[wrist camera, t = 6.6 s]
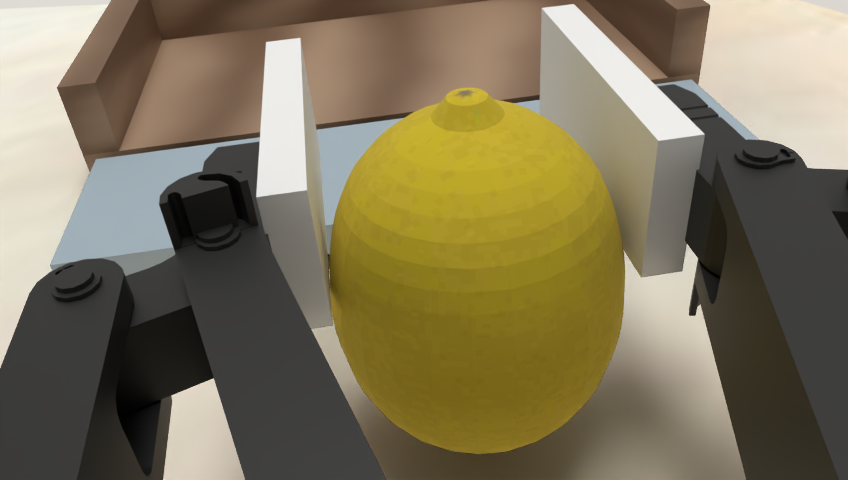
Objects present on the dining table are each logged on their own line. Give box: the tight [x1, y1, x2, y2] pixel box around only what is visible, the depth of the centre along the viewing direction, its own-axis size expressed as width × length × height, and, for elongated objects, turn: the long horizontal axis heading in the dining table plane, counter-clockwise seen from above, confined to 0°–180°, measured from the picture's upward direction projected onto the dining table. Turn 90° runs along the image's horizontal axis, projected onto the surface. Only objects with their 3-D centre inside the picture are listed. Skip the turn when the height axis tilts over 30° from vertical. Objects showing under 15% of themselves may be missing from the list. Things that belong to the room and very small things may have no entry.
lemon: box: [330, 88, 625, 454], centre depth 14 cm, size 6×6×8 cm
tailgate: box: [50, 79, 759, 276], centre depth 24 cm, size 21×1×6 cm
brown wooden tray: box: [57, 0, 710, 172], centre depth 31 cm, size 22×12×4 cm, turn 99°
